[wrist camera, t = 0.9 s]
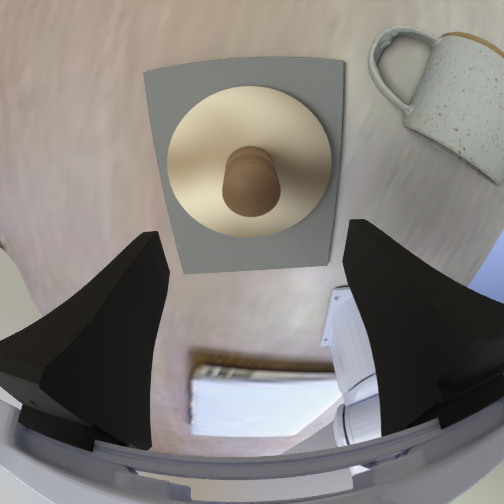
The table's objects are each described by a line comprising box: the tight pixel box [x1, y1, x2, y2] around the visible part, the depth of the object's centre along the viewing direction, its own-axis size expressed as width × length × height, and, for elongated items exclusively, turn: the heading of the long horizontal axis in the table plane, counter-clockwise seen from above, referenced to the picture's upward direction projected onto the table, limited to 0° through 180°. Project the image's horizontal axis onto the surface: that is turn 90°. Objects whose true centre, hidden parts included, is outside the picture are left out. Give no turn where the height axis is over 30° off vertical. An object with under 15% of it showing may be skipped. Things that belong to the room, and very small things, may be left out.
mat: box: [143, 57, 343, 274], centre depth 18 cm, size 16×12×1 cm
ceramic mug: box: [368, 25, 504, 187], centre depth 11 cm, size 11×8×8 cm
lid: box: [167, 86, 331, 238], centre depth 16 cm, size 10×10×4 cm
